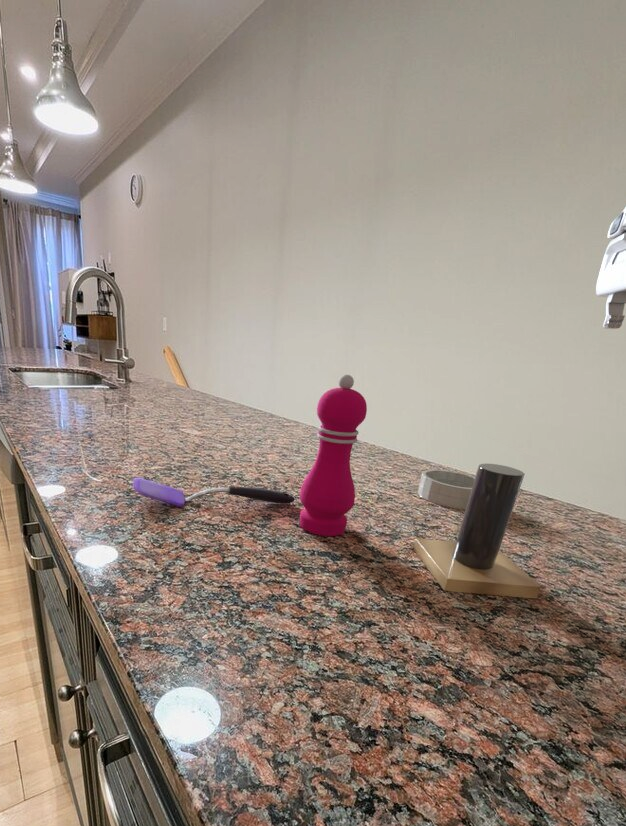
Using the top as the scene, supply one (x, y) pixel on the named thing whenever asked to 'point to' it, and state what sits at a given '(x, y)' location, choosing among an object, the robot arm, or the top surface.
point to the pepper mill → (333, 461)
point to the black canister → (487, 515)
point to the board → (474, 572)
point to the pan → (446, 488)
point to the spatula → (179, 499)
